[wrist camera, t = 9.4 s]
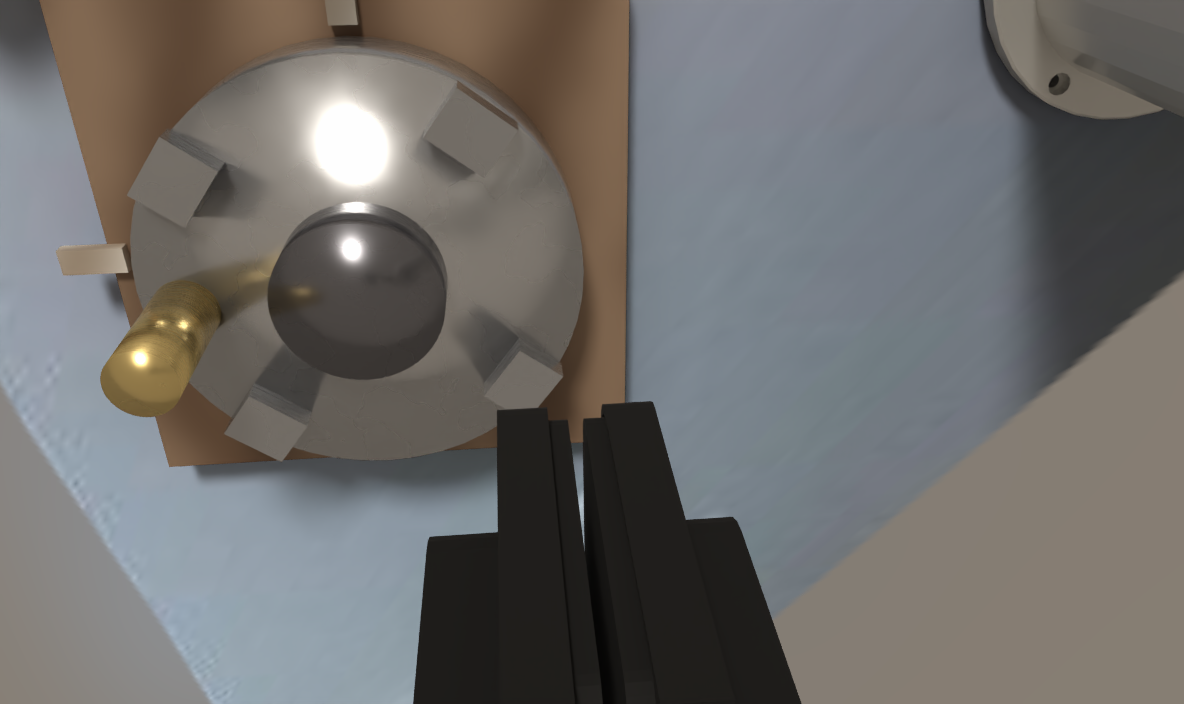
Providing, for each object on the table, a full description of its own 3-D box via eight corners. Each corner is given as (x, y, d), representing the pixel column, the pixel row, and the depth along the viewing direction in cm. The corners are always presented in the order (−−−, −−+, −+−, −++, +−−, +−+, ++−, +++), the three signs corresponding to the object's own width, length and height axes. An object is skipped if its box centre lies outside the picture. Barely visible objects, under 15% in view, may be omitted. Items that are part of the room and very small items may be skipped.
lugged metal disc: (87, 76, 33) (-24, 148, 26) (541, 1, 33) (554, 53, 26) (236, 447, 41) (183, 580, 34) (602, 385, 41) (625, 504, 34)
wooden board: (622, -41, 35) (631, -31, 33) (619, 415, 45) (625, 446, 43) (6, -28, 33) (-27, -17, 31) (143, 442, 43) (125, 476, 41)
